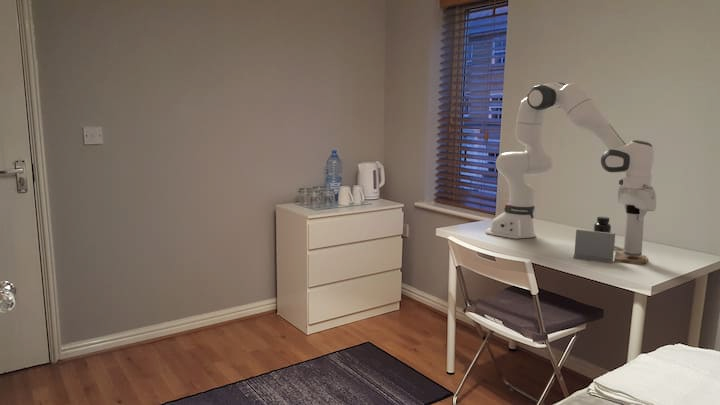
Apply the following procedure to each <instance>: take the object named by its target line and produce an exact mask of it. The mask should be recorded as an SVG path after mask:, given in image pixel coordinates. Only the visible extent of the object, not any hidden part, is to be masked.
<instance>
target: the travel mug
mask: <svg viewBox="0 0 720 405" xmlns="http://www.w3.org/2000/svg"><path fill="white" fill-rule="evenodd" d="M639 214H640V212H639V209H638V208H635V206H634V205H626V210H625V220H624V221H625V222H624V223H625V224H624V225H625V226H624V242H623V244H624V245H623V246H624V247H623V253H624V254H626V255H629V256H640V255H643V237H644V223H645V222H644V221H645V220H643V221H639V220H637V216H639Z"/></svg>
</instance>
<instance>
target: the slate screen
mask: <svg viewBox="0 0 720 405" xmlns="http://www.w3.org/2000/svg"><path fill="white" fill-rule="evenodd" d="M615 242H616V233H614V232H611V233H607V232H597V231H594V230H588V229H587V230H586V229H578V228H577V229H576V231H575V242H574V243H575V245H574V254H573V259H576V260H585V261H591V262H601V263H606V264H607V263H608V264H613V262H614V252H615Z"/></svg>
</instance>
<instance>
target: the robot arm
mask: <svg viewBox="0 0 720 405" xmlns="http://www.w3.org/2000/svg"><path fill="white" fill-rule="evenodd" d="M558 108H559V109H560V108H561V109H563V110H564V112H565V114H566V115H567V117H568V118H569V120H570V121H571V122H572V123H573V124H574V125H575V127H576V128H579V129H581V130H584V131H586V132H589V133H591V134H594V135H595V136H596V137H597V138H599V140H600V141H601V142H602V144H604V146H605V148H606V149H607V150H606V151H604V152H603V153H602V155H601V158H600V165H601V167H602V168H603V170H604V171H606V172H608V173H612V174H615V173H616V174H617V173H625V177H623V178H620V179H618V181H617V185H618V188H617V196H616V197H617V201H618V203H620V204H622V205H624V209H625V211H626V205H634V206H635V208H638V209H639V212H640V214H639V216H637V220H639V221H643V220H644V218H645V216H646V214H647V212H654V211H655V210H656V209H657V193H656V191H655V188H654V186H652V178H653V175H652V169H653V166H654V157H655V156H654V155H655V154H654V152H655V150H654V146H653V145H652V143H650V142H647V141H644V140H635V139H634V140H631V141H629V143H626V142H625V141H624V140H623V139H622V137H621V136H620V135H619V134H618V133H617V131H616V130H615V129H614V128H613V126H612V125H611V124H610V123H609V122H608V120H607V119H606V117H605V116H604V114H602V112H601V110H600V108H599V107H598V106H597V104H596V103H595V101H594V100H593V98H592V96H591V95H590V94H589V92H587V91H586V89H584V88H583V87H582V86H581V85H580V84H579V83H576V82H570V83H567V84H566V83H563V82H547V83H544V84H538V85H535V86H533V87H532V88H530V90H529V91H528V93H527V96H526V97H524V98H523V99H522V100H521V102H520V105H519V108H518V111H517V115H516V116H517V118H516V123H515V124H516V125H515V130H514V131H515V133H514V137H515V140H516V141H517V142H518V143H519V144H521V145H523V146H524V148H525V150H524V151H508V152H503V153H500V154H499V155H498V156H497V158H496V160H495V168H496V170H497V172H498V173H499V174H500V175H501V176H503V177H504V179H505V180H506V183H507V184H508V185H507V186H508V189H509V192H508V193H509V196H508V197H509V198H508V199H509V201H508V202H509V203H508V202H507V203H506V204H505V205H504V207H503V209H504V211H503V212H502V213H501V214H499V215H497V216H496V217H495V218H493V220H492V221H491V225H490V227H488V228H486V230H485V233H486V235H487V234H488V235H491V236H497V237H502V238H503V237H504V238H510V239H516V240H517V239H529V238H534V237H536V232H535V224H534V218H535V215H536V214H535V213H536V212H535V211H536V208H535V193H536V191H535V188H534V187H533V186H532V185H531V184H529V183H527V182H526V181H525V177H526V176H542V175H546V174H548V173H550V171H551V170H552V168H553V159H552V157H551V155H550V154H549V153H548V152H547V151H545V148H544V146H543V143H542V131H543V130H542V128H543V119H544V115H545V112H546V111H548V110H549V111H550V110H554V109H558ZM644 221H645V220H644Z"/></svg>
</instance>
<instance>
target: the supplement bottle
mask: <svg viewBox="0 0 720 405" xmlns="http://www.w3.org/2000/svg"><path fill="white" fill-rule="evenodd" d="M611 230H612V226H611V224H610V217H608V216H597V218H596V222H595V223H594V224H593V231H597V232H607V233H612V232H611Z"/></svg>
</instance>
